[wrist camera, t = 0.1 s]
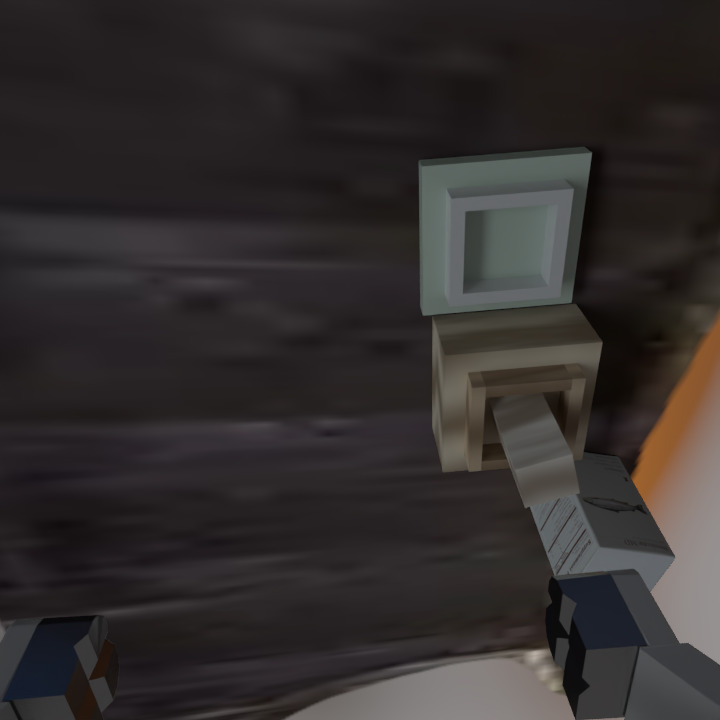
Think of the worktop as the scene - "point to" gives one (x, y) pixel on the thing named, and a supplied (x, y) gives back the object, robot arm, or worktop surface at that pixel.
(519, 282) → the sage socket plate
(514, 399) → the cream plug block
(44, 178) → the worktop surface
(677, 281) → the worktop surface
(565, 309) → the birch stand
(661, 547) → the supplement box
